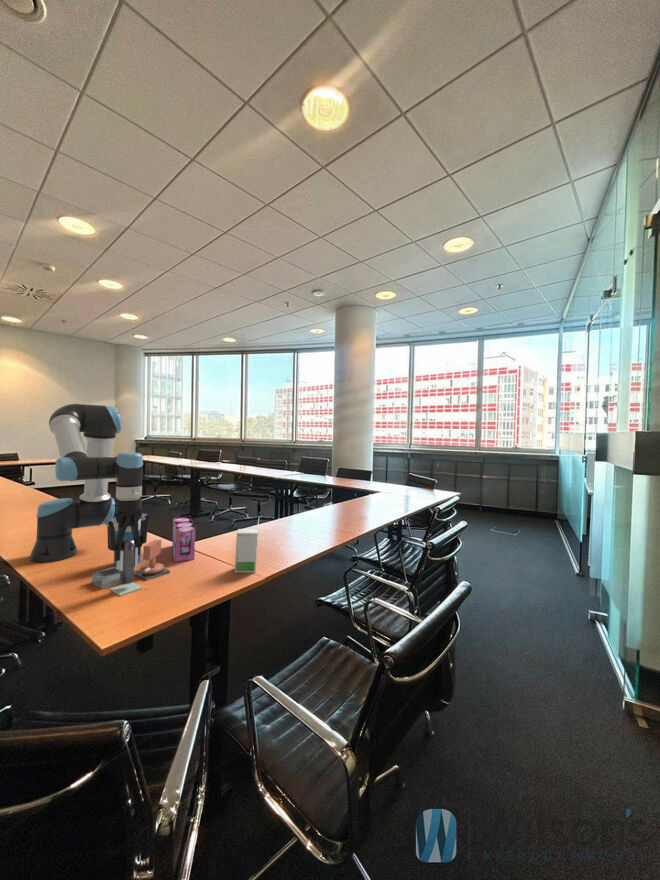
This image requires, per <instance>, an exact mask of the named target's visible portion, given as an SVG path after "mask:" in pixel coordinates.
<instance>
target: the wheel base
mask: <svg viewBox="0 0 660 880" xmlns="http://www.w3.org/2000/svg"><path fill="white" fill-rule="evenodd" d="M170 573H171V570H170V569H168V568H166V567H164V569H163V570H162V571H160V572H158V573H154V574H142V573H140V569H138V570H134V576H137V577H138V578H140V579H142V580H144V581H149V580H152V579H155V578H158V577H162V576H164V575H168V574H170Z"/></svg>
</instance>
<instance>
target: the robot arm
mask: <svg viewBox="0 0 660 880" xmlns="http://www.w3.org/2000/svg"><path fill="white" fill-rule="evenodd" d="M48 427H49V430H50V432H51V433H52V434H53V435H55V436H54V437H55V441H56V444H57V448H58V453H59V456H60V457H59V458H57V459H56V461H55V467H54V469H55V471H54V473H55V478H56V480H57V481H62V482H64V481H66V482H68V481H69V482H74V481H84V487H83V488H84V489H83V490H84V491H83V493H82V494H80V495H79V500H75V501H74V500H73V498H71V497H69V498H68V497H66V498H58V499H57V498H56V499H53V500H49V501H45V502H42V503H40V504H39V506H38V507H37V512H36V519H37V520H36V540H35V542H34V544H33V546H32V549H31V553H30V559H29V560H30V561H31V562H34V563H49V562H50V563H51V562H56V561H62V560H64V559H68V558H71V557H74V556H75V555H76V554H77V553H78V552H77V550H78V549H77V545H76V542H75V540H74V537H73V529H74V530H75V529H81V528H89V527H99V526H103V525H106V527H107V529H106V530H107V531H106V532H107V533H106V534H107V550H109V551H111V552H113V561H114V560H115V561H117V569H118V570H119V571H122V570H123V550H121V547H122V543H123V539H124V534H125V530H126V529H127V527H128V526H130V527H131V530H132V536H133V539H135V549H134V568H136V567H138V565H139V564H138V556H139V555H140V547H141V548H143V544H145V545H146V543H147V539H148V524H149V520H150V517H151V516H150V514H146V513H143V512H142V499H141V497H142V495H143V494H142V493H143V492H142V491H143V466H144V462H143V461H144V459H143V455H142V453H140V452H119V453H117V455H116V456H111V449H112V442H113V440H115V438H116V436H117V434H120V433H121V431H122V419H121V414H120V412H119V409H118V408H117V407H115V406H108V405H102V404H101V405H100V404H99V405H98V404H84V403H82V404H80V403H71V404H70V403H69V404H66V405H63V406H61V407H59V408H57V409H56V410H55V411H54V412H53V413H52V414H51V415H50V417H49V420H48ZM81 433H83V437H84V439H86V440H87V443H86V446H85V443H84V440H83V438H82V434H81ZM109 479H116V486H115V498H116V500H115V499H114V498H113V497H112V496H111V494H110V493H109V492H108V488H109V486H108V485H109ZM140 518H141V526H140V535H139V530H138V521H139V519H140ZM116 521H117V523H118V524H119V525H118V532H117V536H116V541H115V522H116ZM137 564H138V565H137Z"/></svg>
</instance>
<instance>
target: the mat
mask: <svg viewBox="0 0 660 880" xmlns="http://www.w3.org/2000/svg"><path fill="white" fill-rule="evenodd" d="M139 590H140V591H141V590H143V586H141V585H139V584H137V583H135V582H134V581H133V582H132V583H129V584H120V585H117V586H114V587H111V588H110V591H111V592H113V593H114V594H116V595H118V596H119V597H122V596H125V595H129V594H132V593H133V592H137V591H139Z"/></svg>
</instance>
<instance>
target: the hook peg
mask: <svg viewBox="0 0 660 880" xmlns="http://www.w3.org/2000/svg"><path fill="white" fill-rule="evenodd" d="M134 549H135V539H124V540H123V543H122V547H121V550H123V570H122V571H120V585H124V584H129V583H132V582H134V580H135V575H134V571H135V567H134Z"/></svg>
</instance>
